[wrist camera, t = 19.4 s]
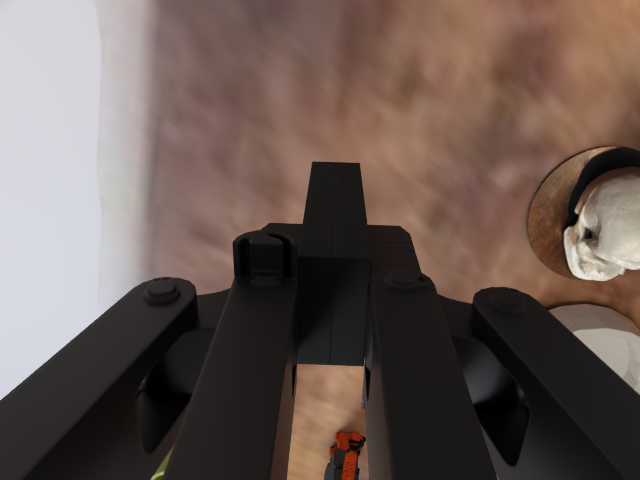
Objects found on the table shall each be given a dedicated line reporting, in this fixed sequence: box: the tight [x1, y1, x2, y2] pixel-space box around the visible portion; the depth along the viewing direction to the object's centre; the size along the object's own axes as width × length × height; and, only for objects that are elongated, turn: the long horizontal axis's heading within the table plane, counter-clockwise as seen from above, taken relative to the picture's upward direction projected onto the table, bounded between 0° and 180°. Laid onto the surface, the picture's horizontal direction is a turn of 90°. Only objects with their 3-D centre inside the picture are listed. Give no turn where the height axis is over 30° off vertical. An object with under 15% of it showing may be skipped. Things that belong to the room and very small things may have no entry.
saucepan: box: [548, 304, 640, 395], centre depth 50 cm, size 14×14×4 cm
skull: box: [528, 147, 640, 281], centre depth 43 cm, size 12×10×10 cm
